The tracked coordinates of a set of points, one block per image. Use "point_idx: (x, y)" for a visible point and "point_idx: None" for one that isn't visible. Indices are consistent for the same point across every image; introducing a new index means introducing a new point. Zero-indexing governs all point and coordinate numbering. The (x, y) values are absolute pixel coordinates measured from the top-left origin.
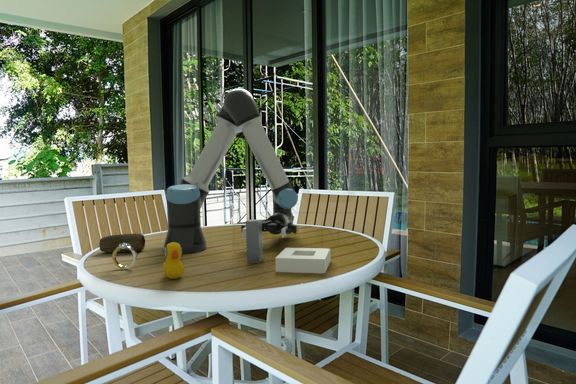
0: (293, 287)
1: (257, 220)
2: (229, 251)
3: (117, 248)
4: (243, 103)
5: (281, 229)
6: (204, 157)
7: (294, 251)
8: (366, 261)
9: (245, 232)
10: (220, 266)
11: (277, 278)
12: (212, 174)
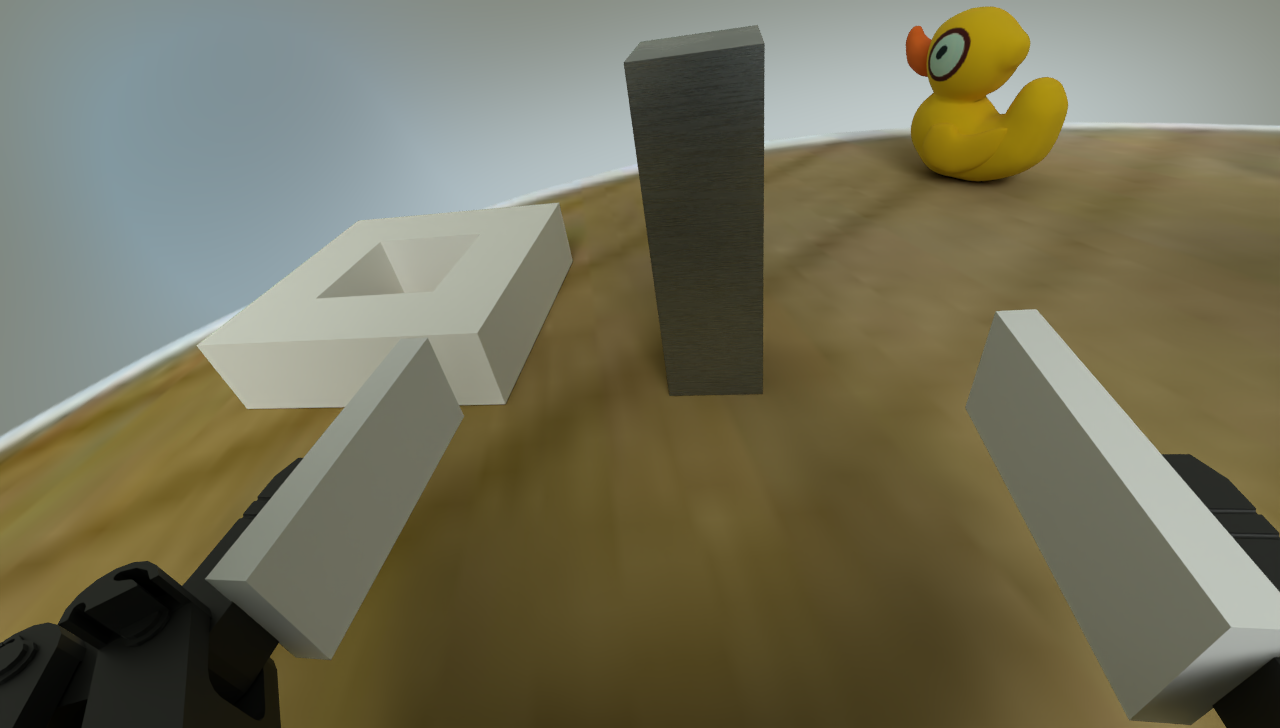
0: (522, 196)
1: (656, 46)
2: None
3: None
4: None
5: (425, 338)
6: None
7: (444, 278)
8: (55, 428)
9: (999, 395)
10: (878, 275)
11: (565, 225)
12: None
